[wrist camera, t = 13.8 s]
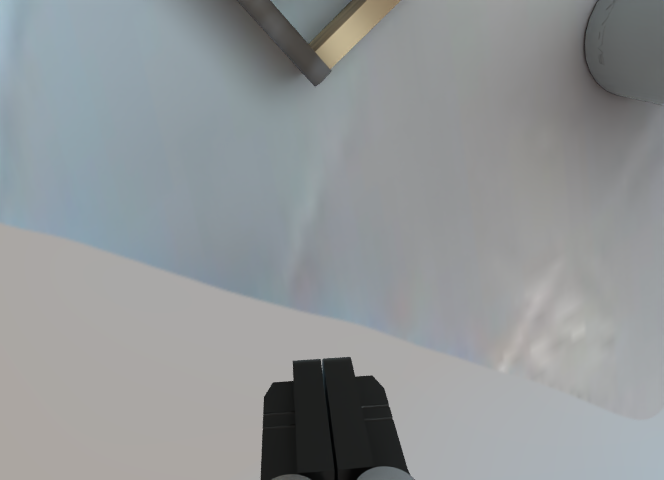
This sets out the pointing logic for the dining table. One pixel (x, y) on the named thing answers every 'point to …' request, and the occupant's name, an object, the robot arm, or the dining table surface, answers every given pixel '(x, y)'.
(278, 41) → the oak caddy
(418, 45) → the dining table surface
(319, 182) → the dining table surface
